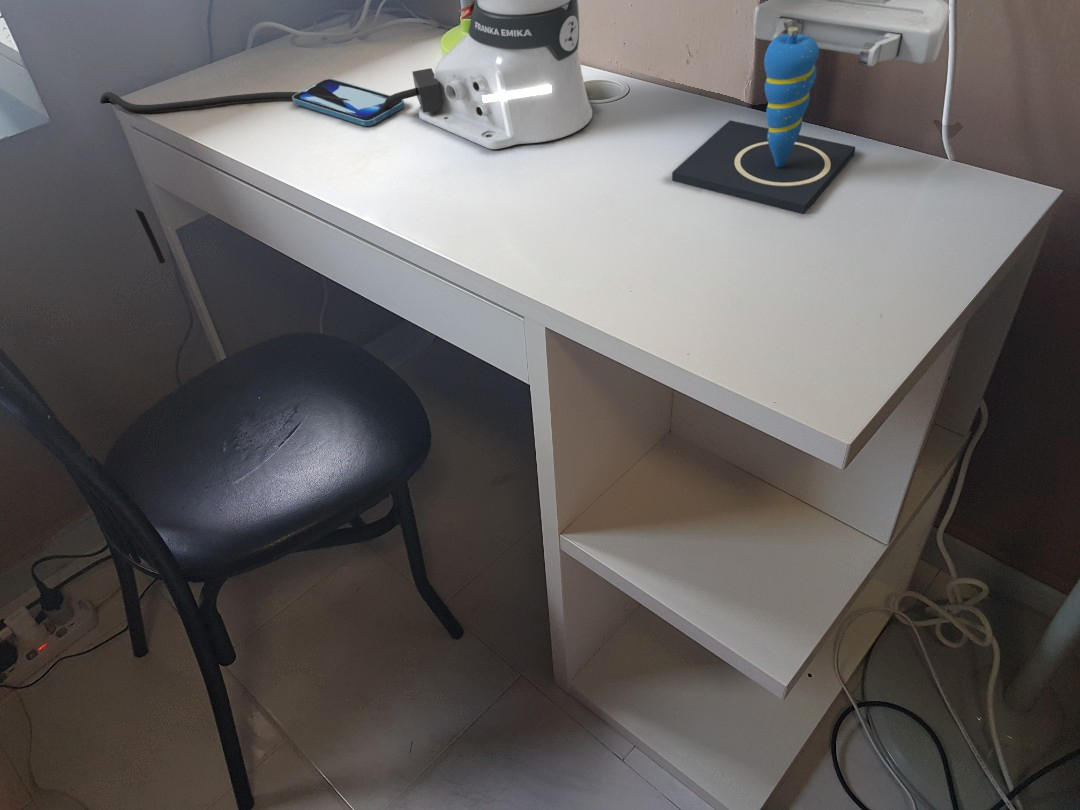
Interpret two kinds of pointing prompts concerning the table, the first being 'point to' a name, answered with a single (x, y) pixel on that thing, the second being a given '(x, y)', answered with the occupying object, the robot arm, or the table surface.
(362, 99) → the smartphone
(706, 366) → the table surface
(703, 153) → the mat
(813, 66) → the ornament
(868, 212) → the table surface
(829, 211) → the table surface
